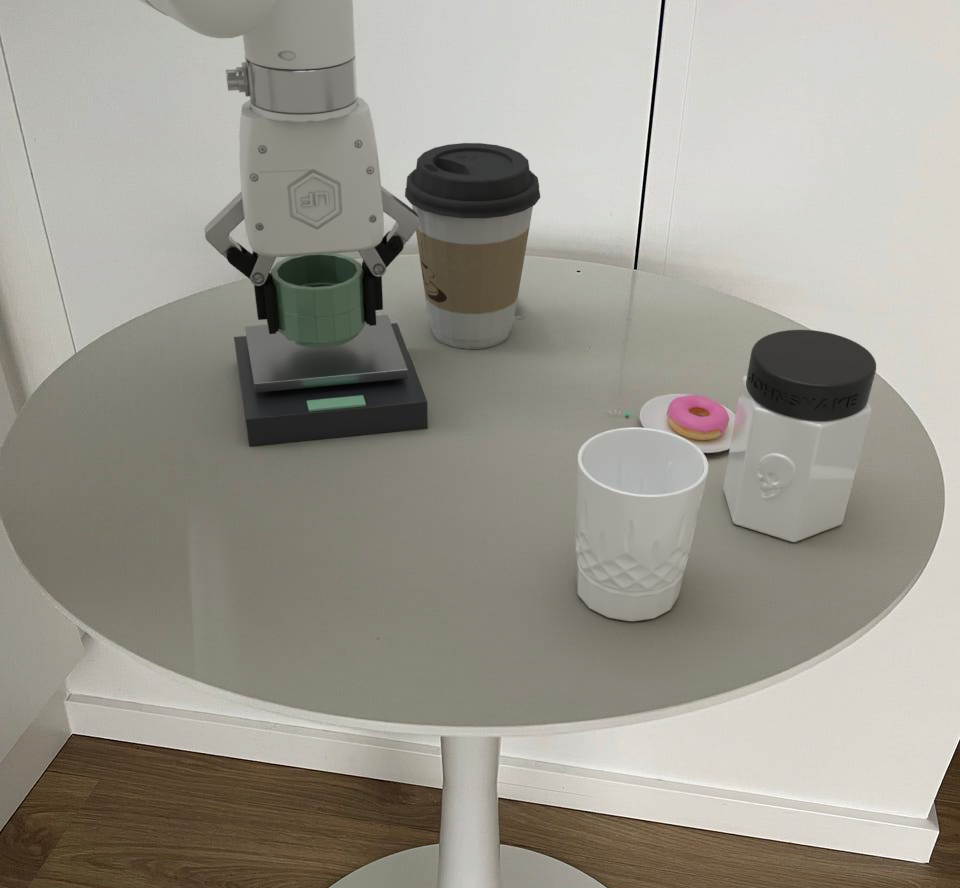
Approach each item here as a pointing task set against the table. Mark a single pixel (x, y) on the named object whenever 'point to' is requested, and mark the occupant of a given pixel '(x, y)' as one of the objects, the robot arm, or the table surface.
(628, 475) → the white cup
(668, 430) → the donut
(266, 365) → the scale platform
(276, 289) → the bowl
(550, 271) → the table surface
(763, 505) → the jar
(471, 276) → the coffee cup
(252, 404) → the scale
